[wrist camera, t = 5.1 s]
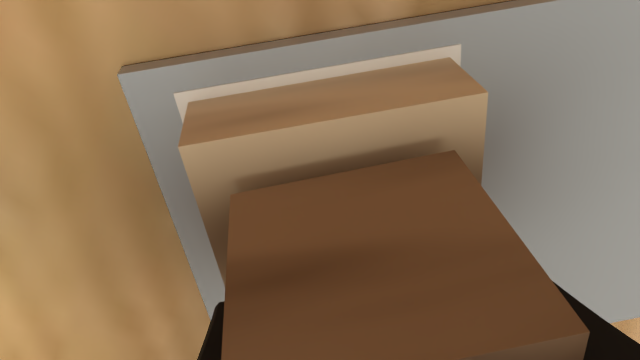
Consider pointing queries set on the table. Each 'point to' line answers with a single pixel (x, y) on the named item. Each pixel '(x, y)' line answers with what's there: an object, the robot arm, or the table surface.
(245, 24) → the table surface
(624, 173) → the build plate
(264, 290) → the walnut cube
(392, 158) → the oak base block
